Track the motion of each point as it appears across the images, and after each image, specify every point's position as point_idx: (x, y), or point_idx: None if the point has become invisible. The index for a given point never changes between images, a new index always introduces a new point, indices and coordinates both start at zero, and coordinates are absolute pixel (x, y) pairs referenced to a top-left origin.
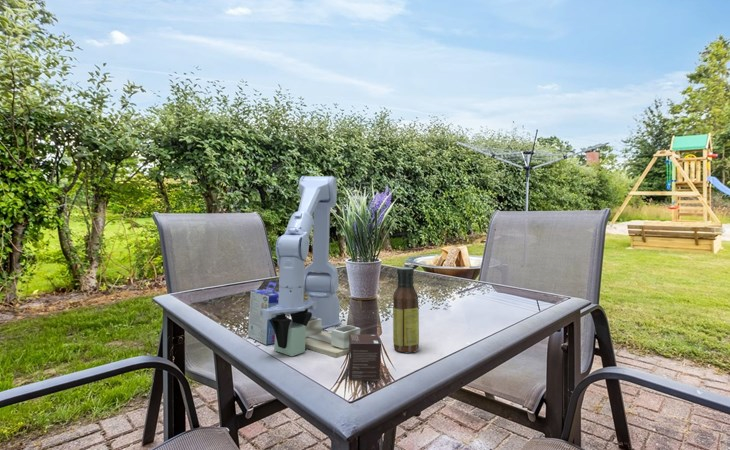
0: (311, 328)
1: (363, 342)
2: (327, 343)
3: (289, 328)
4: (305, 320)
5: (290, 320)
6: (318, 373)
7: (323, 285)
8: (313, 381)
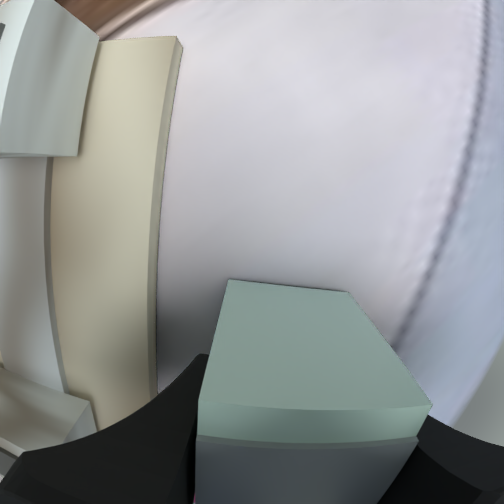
0: (22, 409)
1: None
2: (49, 225)
3: (413, 443)
4: (147, 470)
5: (489, 486)
6: (434, 22)
7: None
8: (490, 18)
